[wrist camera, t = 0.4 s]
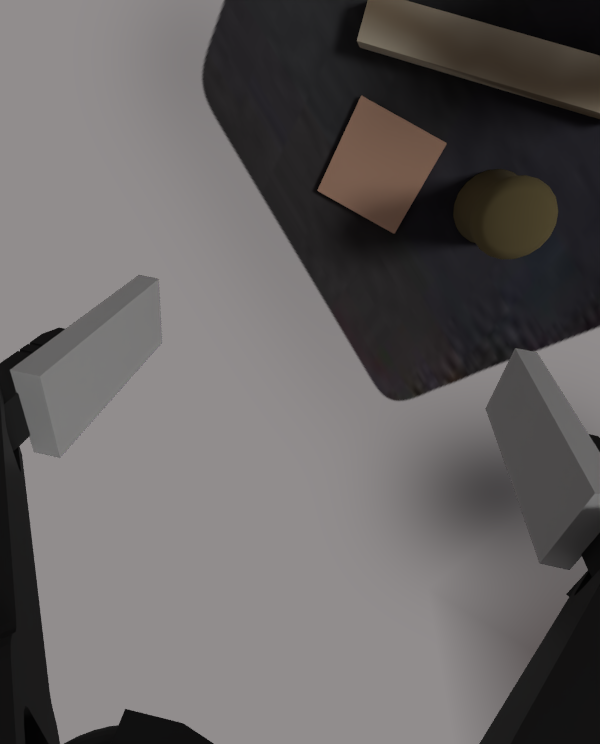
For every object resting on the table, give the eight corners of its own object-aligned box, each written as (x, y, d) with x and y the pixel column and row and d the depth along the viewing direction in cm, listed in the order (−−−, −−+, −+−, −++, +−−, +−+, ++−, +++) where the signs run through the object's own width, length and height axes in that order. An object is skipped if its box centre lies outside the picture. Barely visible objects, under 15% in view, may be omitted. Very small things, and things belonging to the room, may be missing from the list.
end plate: (361, 96, 35) (361, 95, 35) (446, 143, 35) (446, 143, 34) (318, 190, 39) (317, 190, 38) (394, 233, 39) (394, 234, 38)
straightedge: (373, 0, 32) (370, -10, 30) (637, 76, 30) (650, 70, 29) (359, 47, 34) (356, 40, 32) (611, 122, 32) (622, 119, 30)
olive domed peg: (437, 211, 37) (445, 224, 27) (496, 151, 34) (527, 143, 25) (485, 259, 38) (508, 289, 28) (546, 205, 35) (596, 217, 25)
